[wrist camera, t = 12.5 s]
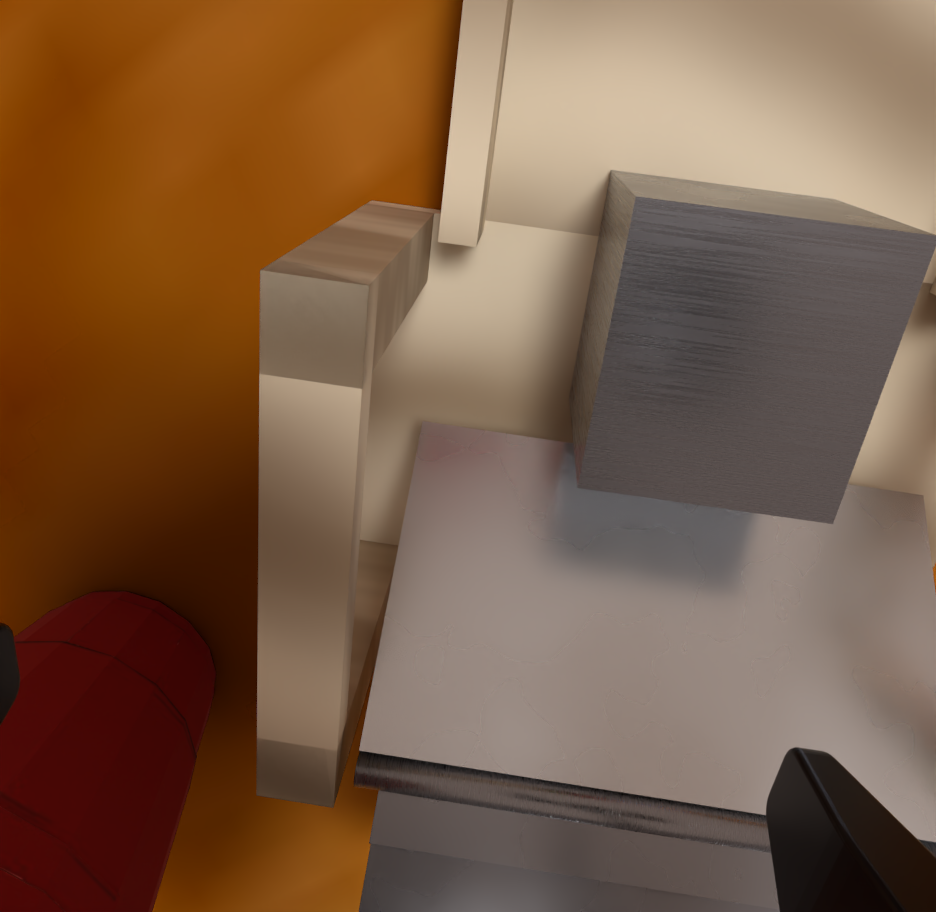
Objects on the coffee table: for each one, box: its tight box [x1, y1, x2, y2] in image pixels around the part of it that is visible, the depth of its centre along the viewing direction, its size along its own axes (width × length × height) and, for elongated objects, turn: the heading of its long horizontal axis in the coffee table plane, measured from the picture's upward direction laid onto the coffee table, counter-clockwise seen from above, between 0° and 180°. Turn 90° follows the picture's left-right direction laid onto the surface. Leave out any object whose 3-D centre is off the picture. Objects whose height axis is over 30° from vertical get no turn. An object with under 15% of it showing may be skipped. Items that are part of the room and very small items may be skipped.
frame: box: [257, 0, 936, 808], centre depth 15 cm, size 21×16×8 cm
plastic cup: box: [0, 591, 216, 912], centre depth 20 cm, size 11×11×12 cm
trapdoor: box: [354, 421, 936, 912], centre depth 18 cm, size 13×12×6 cm
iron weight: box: [569, 170, 936, 524], centre depth 16 cm, size 5×5×6 cm
